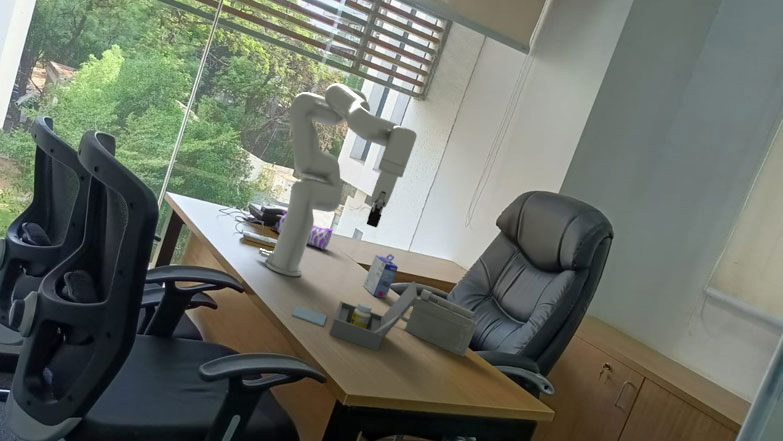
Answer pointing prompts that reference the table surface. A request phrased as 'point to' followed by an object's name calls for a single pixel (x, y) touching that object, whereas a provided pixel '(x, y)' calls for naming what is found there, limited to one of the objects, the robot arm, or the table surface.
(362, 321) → the supplement bottle
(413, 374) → the table surface
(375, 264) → the ink cartridge box
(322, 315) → the pad
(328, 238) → the pencil case
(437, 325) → the geiger counter
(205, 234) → the table surface
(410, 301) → the case
